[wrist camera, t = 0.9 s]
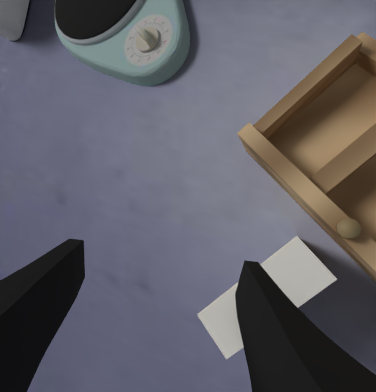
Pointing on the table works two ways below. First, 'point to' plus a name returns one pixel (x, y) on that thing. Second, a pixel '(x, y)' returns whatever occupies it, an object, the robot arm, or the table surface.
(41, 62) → the table surface
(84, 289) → the table surface
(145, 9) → the electric hot plate
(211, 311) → the white rectangular box
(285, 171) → the wooden compartment tray
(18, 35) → the photo printer
